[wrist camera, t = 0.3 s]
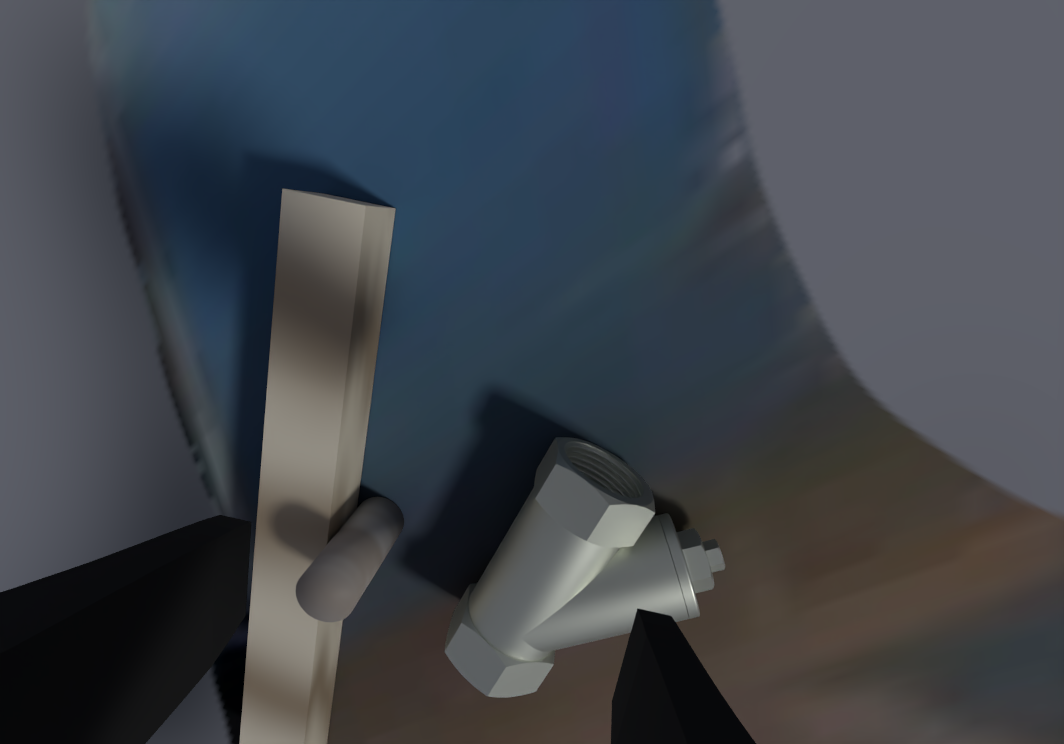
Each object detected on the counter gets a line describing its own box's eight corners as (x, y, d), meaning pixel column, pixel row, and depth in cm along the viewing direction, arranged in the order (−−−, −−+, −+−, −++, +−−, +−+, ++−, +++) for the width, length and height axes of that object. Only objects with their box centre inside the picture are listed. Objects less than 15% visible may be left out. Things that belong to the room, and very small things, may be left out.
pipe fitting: (724, 506, 20) (557, 422, 20) (764, 575, 17) (559, 474, 16) (611, 666, 22) (456, 596, 22) (624, 760, 19) (437, 678, 18)
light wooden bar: (367, 756, 24) (318, 874, 20) (271, 732, 24) (201, 843, 20) (450, 219, 18) (406, 217, 14) (322, 193, 18) (239, 183, 14)
